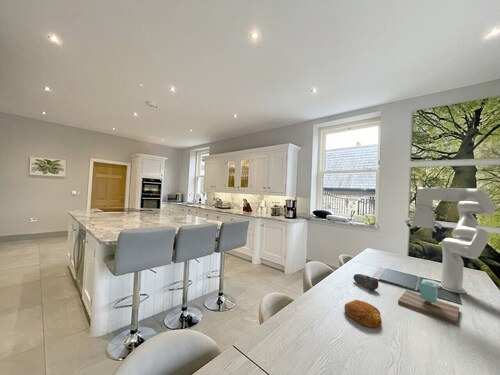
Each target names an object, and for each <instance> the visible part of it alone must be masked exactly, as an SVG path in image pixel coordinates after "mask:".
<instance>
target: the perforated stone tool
mask: <svg viewBox="0 0 500 375" xmlns="http://www.w3.org/2000/svg"><path fill="white" fill-rule="evenodd" d="M353 281H354V282H355V283H356V284H358V285H360V286H361V287H363V288H365V289H369V290H370V291H373V290H377V289H378V288H379V281H378V279H376V278H374V277H371V276H369V275H365V274H361V273H355V274H354V275H353Z"/></svg>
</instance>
